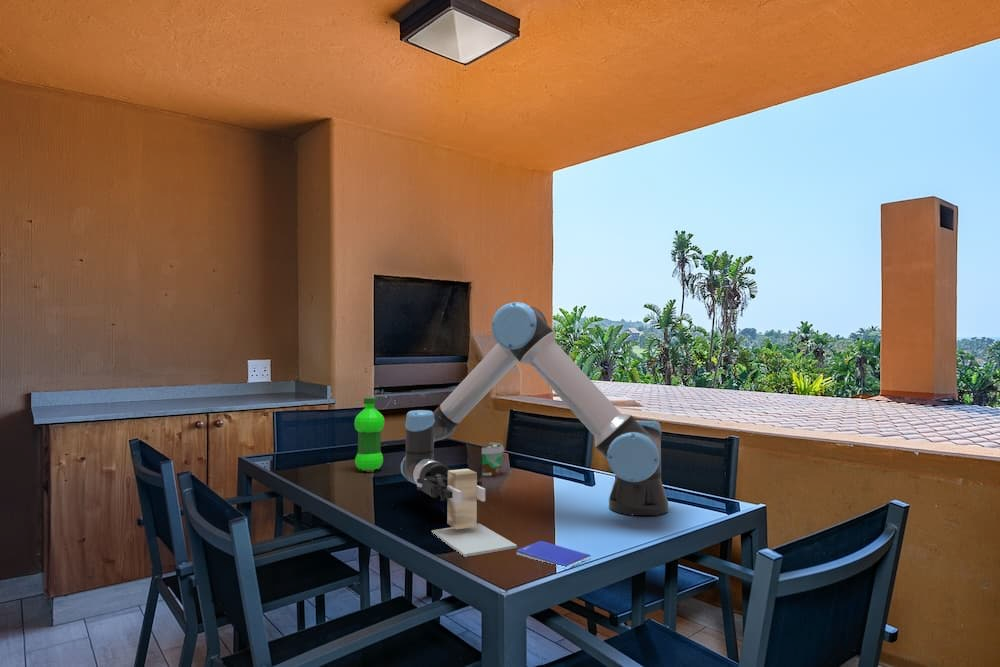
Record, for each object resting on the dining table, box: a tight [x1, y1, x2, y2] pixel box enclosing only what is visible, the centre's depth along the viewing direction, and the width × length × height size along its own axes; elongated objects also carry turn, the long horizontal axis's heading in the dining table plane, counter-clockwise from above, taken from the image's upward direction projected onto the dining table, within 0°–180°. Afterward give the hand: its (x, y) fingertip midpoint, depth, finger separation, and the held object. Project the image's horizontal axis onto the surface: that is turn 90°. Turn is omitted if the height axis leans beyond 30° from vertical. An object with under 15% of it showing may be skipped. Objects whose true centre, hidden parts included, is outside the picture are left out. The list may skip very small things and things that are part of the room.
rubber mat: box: [431, 522, 518, 558], centre depth 129 cm, size 18×12×1 cm, turn 28°
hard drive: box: [516, 540, 592, 567], centre depth 119 cm, size 2×8×12 cm
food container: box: [481, 442, 505, 478], centre depth 198 cm, size 12×6×10 cm, turn 168°
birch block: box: [446, 468, 478, 529], centre depth 134 cm, size 5×5×12 cm
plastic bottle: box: [353, 397, 385, 470], centre depth 205 cm, size 10×10×25 cm
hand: (472, 496), depth 130 cm, fingers closed on birch block, 5 cm apart
